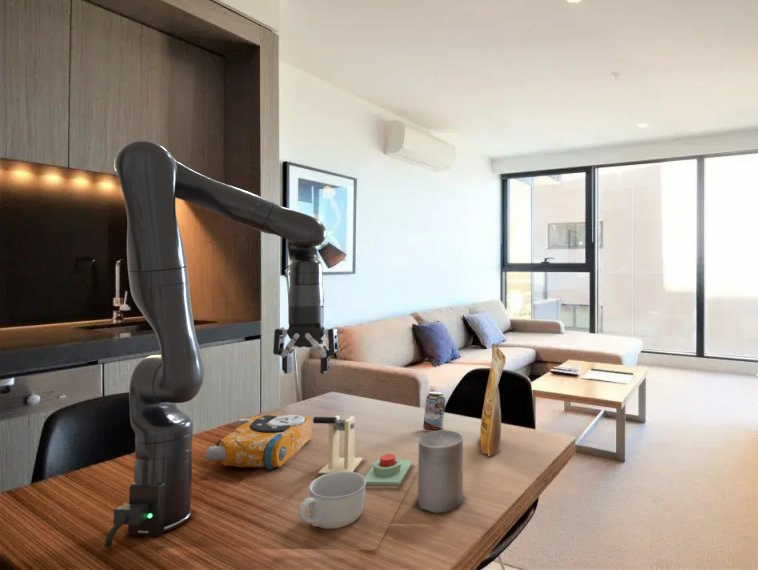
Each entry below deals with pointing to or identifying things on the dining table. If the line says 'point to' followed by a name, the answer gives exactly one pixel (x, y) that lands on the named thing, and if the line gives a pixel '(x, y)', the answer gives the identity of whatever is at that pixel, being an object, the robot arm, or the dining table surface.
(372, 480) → the button block
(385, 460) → the button
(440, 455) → the pillar candle
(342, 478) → the teacup
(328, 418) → the press lever
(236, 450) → the device
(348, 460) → the lever bracket
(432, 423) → the beverage can
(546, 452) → the dining table surface
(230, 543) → the dining table surface
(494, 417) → the pancake mix bag
